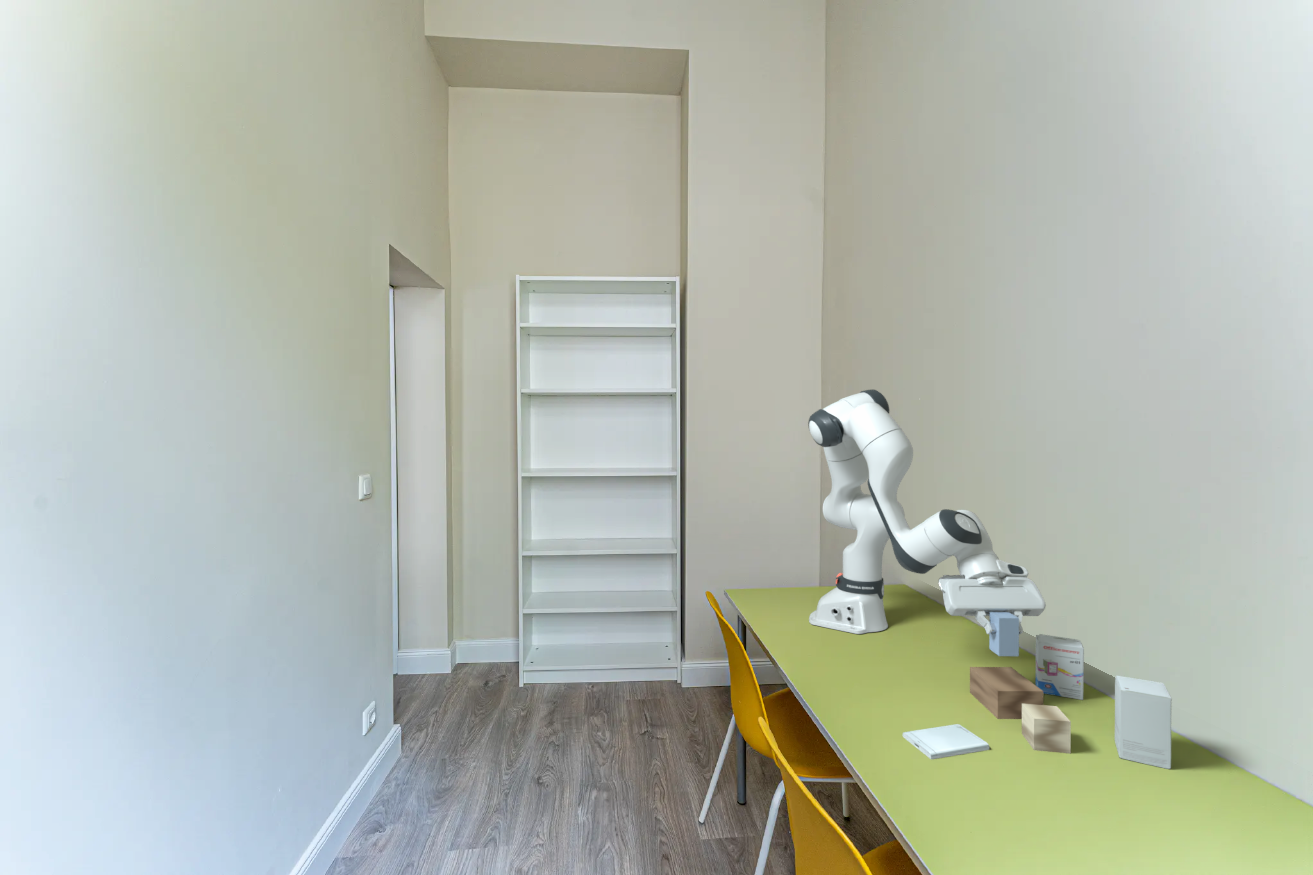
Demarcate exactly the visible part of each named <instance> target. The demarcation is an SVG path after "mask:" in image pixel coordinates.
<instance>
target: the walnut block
mask: <svg viewBox="0 0 1313 875" xmlns="http://www.w3.org/2000/svg"><path fill="white" fill-rule="evenodd" d="M969 693H970V695H972V696H973V697H974V698H975V699H976V700H977V701H978V702H979V703H980V704H981V705H982V706H983V707H984V708H985V709H986V710H988V712H989V713H991V714H992V715H993V716H994V717H995V718H996V719H997V720H1022V704H1035V705H1044V693H1043V691H1042V690H1041V689H1040V688H1038V687H1037V686H1036V684H1035V683H1033V682H1032V681H1031V680H1029V679H1028V678H1026V677H1025V676H1024V675H1022V673H1020V672H1018V671H1017V670H1016V669H1014V668H1013V667H1012V666H969Z"/></svg>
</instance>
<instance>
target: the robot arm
mask: <svg viewBox="0 0 1313 875" xmlns="http://www.w3.org/2000/svg"><path fill="white" fill-rule="evenodd" d="M890 412H891V411H890V406H889V402H888V400H887V399H886V397H885V395H883V394H882V393H881V392H880V391H879V390H877V389H866V390H865V389H864V390H861V391H860V392H858V393H854V394H851V395H848V396H846V397H843V398H840V399H839V400H838V401H835V402H833V403H831V404H828V405H827V406H825V407H824V408H820V409H817V410H816V411H815V412H813V413H812V414H811V415H809V418H808V422H807V423H808V424H807V425H808V431H809V434H810V435H811V438H812V439H813V441H814V442H815V443H816V444H817V446H820V447H823V448H822V449H823V453H824V457H825V460H826V463H827V468H828V471H829V474H830V479H831V489H830V492H829V494H828V495H827V496H826V497H825V499H824V500H823V504H822V515H823V517H824V519H825V520H826V522H828V523H829V524H831V525H834V526H836V527H839V528H841V529H849V530H854V531H855V530H856V532H857V533H856V537H855V541H854V542H851V543H849V544H848V545H847V546H846V547H845V548H844V549H843V551H842V572H839V573H838V574H837V575H836V578H835V587H834V588H833V589H831V590H830V591H828V592H827V593H825V594H824V595H822V596H820V599H819V600H818V603H817V606H816V609H815V610H814V611H812V612H811V613H810V614H809V618H808V621H809V624H810V625H813V626H818V627H822V628H827V629H830V630H831V629H832V630H837V631H841V632H847V633H850V634H856V635H863V634H867V633H875V632H880V631H881V632H882V631H884V630H886V629H888V627H889V623H888V621H887V618H886V612H885V607H884V606H885V604H884V600H883V599H884V597H885V582H884V578H883V557H884V556H883V555H884V550H885V547H886V545H887V543H888V541H889V540H890V543H891V547H892V551H893V553H894V556H895V559H896V561H897V562H898V564H899V565H900V566H901V567H902V568H903V569H904V570H907V571H908V572H911V573H914V574H920V575H924V574H927V573H928V572H930V571H931V570H932V569H934V568H935V567H937V565H939V564H940V563H942V562H944V561H945V560H947V559H949V558H951V557H953V556H954V557H955V559H956V562H957V563H956V566H957V569H958V572H959V574H953V575H949V574H944V575H943V574H942V576H940V577H939V578H938V580H937V581H938V582H937V583H938V586H939V589H940V591H941V592H942V598H943V603H944V607H945V611H946V612H947V613H948V614H949V615H950V616H953V617H964V616H965V617H966V616H967V617H972V616H973V617H974V618H975V620H976V621H977V622H978V623H979V624H980V625H981V626H982V627H983V628H984V629H985V633H986V635H989V634H995V633H996V632H997V629H996V628H995V624H994V623H990V620H988V619H987V618H986V617H990V612H1009V613H1011V614H1013V615H1014V616H1016V617H1018V618H1019V635H1022V634H1023V632H1024V629H1023V627H1022V621H1023V617H1039V616H1040V615H1041V614H1042V613H1043V612H1044V611H1045V610H1046V606H1047V605H1046V602H1045V599H1044V597H1043V595H1042V593H1041V591H1040V589H1039V588H1038V586H1037V584H1036V583H1035V582H1034V581H1033V580H1032V579H1030V578H1029V577H1028V576H1029V571H1028V569H1027V568H1026V567H1024V566H1022V565H1017V564H1014V563H1010V562H1007V561H1005V560H1002V559H999V556H998V555H997V553H995V551H994V549H993V542H992V540H991V538H990V535H989V533H988V531H987V529H986V527H985V525H984V524H983V522H982V521H981V519H980V518H979V517H978V516H977V515H976V513H975V512H972V511H971V510H968V509H957V510H954V509H945V508H944V509H942V510H940V511H937V512H936V513H934V514H933V515H931V516H929V517H927V518H926V519H925V520H924V521H923V522H921V523H919V524H918V525H916V526H914V527H913V528H912V529H911V528H910V526H909V524H908V521H907V519H906V518H905V517H906V514H905V510H904V507H903V505H902V504H901V503H900V502H899V501H898V496H897V494H898V490H899V487H900V485H901V482H902V480H903V479H904V477H905V475H906V474H907V472H908V471H909V469H910V467H911V465H912V462H913V458H914V448H913V445H912V443H911V441H910V439H909V437H908V436H907V434H906V433H905V432H904V431H903V429H902V428H901V426H900V425H899V424H898V422H897V421H896V420H895V419H894V418H893V417H892V415H890ZM866 482H867V487H868V490H869V493H870V494H868V493H867V494H866V493H864V492H863V491H862V488H861V486H862V485H863V484H864V483H866Z"/></svg>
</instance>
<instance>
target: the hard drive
mask: <svg viewBox="0 0 1313 875" xmlns="http://www.w3.org/2000/svg"><path fill="white" fill-rule="evenodd" d="M902 737H903V738H904V740H906V741H907V742H908V743H910V744H911V745H912V746H913V747H915V748H916V749H917V750H918V751H920V752H921V753H922V754H924V755H925V756H926V757H927V758H928V759H930V760H937V759H942V758H948V757H953V756H954V757H956V756H960V755H967V754H971V753H977V752H978V753H979V752H984V751H990V745H989V743H988V742H987V741H985V740H984V739H982V738H981V737H980V736H977V735H976V734H974V733H973V732H972V731H970V730H969V729H967V728H966V727H965V726H962V725H961V724H959V723H956V724H949V725H942V726H937V727H929V728H923V729H916V730H909V731H905V732H904V731H903V732H902Z"/></svg>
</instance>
